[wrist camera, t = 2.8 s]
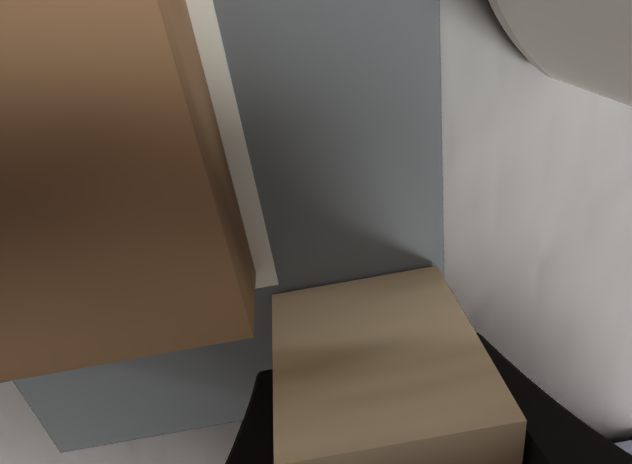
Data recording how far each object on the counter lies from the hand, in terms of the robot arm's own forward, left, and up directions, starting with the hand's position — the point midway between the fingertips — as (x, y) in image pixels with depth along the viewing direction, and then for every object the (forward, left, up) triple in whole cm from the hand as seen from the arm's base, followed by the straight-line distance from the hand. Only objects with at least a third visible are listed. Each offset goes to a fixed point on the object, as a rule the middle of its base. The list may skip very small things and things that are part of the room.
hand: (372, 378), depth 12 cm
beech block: (0, 0, -1) cm, 1 cm away
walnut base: (+7, +6, -1) cm, 9 cm away
